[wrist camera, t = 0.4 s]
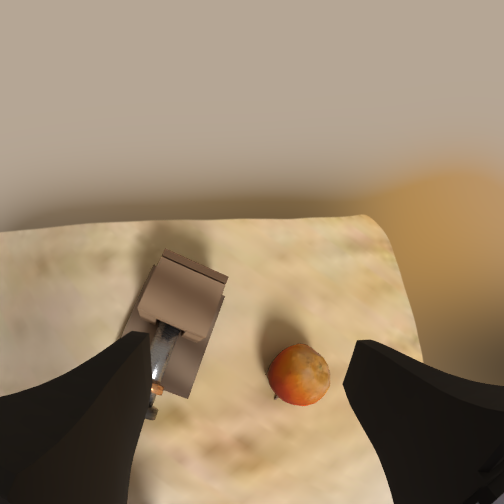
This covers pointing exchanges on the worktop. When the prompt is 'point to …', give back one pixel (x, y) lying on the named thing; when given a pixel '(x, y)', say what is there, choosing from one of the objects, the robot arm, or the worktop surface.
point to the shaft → (160, 361)
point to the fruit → (299, 375)
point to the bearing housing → (180, 314)
